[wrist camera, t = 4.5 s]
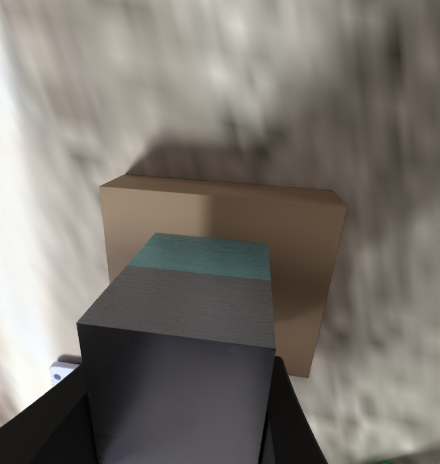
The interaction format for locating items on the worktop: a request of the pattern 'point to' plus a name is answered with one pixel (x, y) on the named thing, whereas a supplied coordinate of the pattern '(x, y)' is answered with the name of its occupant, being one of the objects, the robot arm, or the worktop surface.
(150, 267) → the block
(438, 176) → the worktop surface
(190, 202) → the tan flat block
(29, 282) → the worktop surface
